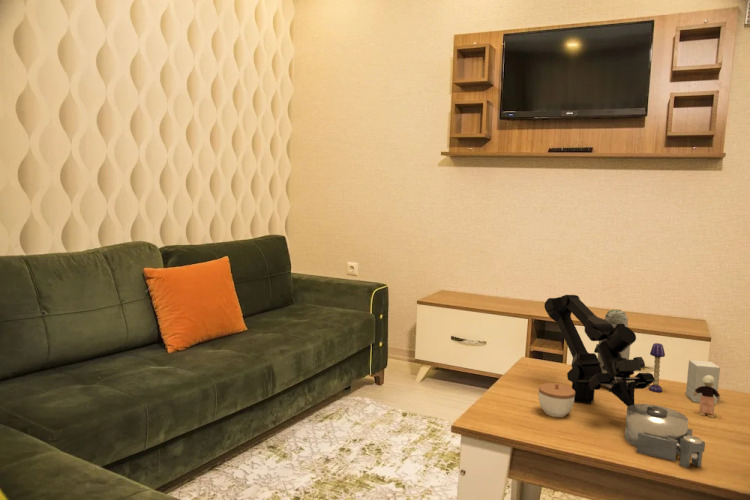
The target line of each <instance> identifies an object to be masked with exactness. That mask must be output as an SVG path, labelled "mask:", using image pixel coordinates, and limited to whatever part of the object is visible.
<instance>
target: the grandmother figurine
mask: <svg viewBox="0 0 750 500" xmlns="http://www.w3.org/2000/svg"><path fill="white" fill-rule="evenodd" d="M702 382H703V383H704V384H705V386H701V387H698V388H697V389H695V391H694V393H693V396H696V395H697V394H698V393H702V395H701V399H700V403H699V412H698V415H700V416H704V417H706V416H707V417H709V418H715V417H716V416H717V415H716V414H715V404H714V397H713V394H714V395H715V396H716V397H717V402H718V403H721V402H722V401H723V400H722V399H721V398H722V397H721V394H720V393H719V391H718V392H717V390H716V389H714V388H712V387H711V386H713V384H714V377H713V376H710V375H707V376H705V377H704V378H703V379H702Z"/></svg>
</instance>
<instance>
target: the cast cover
mask: <svg viewBox="0 0 750 500" xmlns="http://www.w3.org/2000/svg"><path fill="white" fill-rule="evenodd" d="M688 426H689V419H688V417H687V416H686V415H684V413H681V412H679V411H677V410H675V409H673V408H669V407H666V406H663V405H657V404H656V405H655V404H648V403H636V404H634V405H630V406H626V418H625V429H624V439H625V441H626V442H627V443H628V444H630V445H631V446H633V447H635V448H637V441H638V433H644V434H648V435H652V436H657V437H661V438H666V439H670V440H677V441H679V443H680V438H684V436H686V435H687V429H689V428H688ZM680 454H681V451H679V450H677V449H676V456H677V455H680Z"/></svg>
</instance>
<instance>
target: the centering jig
mask: <svg viewBox="0 0 750 500" xmlns="http://www.w3.org/2000/svg"><path fill="white" fill-rule="evenodd" d="M705 445H706V442H705V441H703V440H702V439H701V438H699V437H698V436H694V435H693V429H692V428H688V429H687V435H686V436H684V438H680V448H681V454H679V455H680V457H679V466H681V467H683V468H685V469H690V465H691V464H692V465H693V466H695V467H696V468H700V467H702V461H703V460H702V459H703V452H705ZM676 449H677V441H674V440H670V439H666V438H661V437H657V436H652V435H648V434H644V433H638V441H637V447H636V453H639V454H641V455H646V456H650V457H655V458H657V459H658V458H660V459H663V460H667V461H672V462H676V457H677V455H676ZM694 452H695V453H697V454H698V458H697V459H696V460H694V459H693V458H691V457H690V453H694ZM690 463H691V464H690Z"/></svg>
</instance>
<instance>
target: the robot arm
mask: <svg viewBox="0 0 750 500" xmlns="http://www.w3.org/2000/svg"><path fill="white" fill-rule="evenodd" d="M544 310H545V311H546V313H547V315H548V317H549V318H550V319H552V320H553V321H554V322H556V323H557V325H558V328H559V330H560V332H561V335H562V337H563V339H564V340H565V343H566V345H567V347H568V350H569V352H570V354H571V357H572V361H571V368H570V370H568V372H567V373H566V375H567V380H568V381H570V382H571V384H572V385H571V388H572V389H574V390H575V397H574V402H578V403H584V404H589V405H591V404H592V402H593V401H594V399H595V390H596V391H599V390H600V389H601V388H602V384H609V385H610V388H608V392H609V393H612V394H613V395H614V396H615V397H617V398H618V399H619V400H620V401H621V402H622V403H623V404H624V405H625V406H626V407H628V406H630V405H634V404H635V392H636V391H635V390H643V389H646V388H647V387H648V386H649V387H650V386H651V385H652V384H653V382H654V381H655V379H654V374H653V373H651V372H641V371H642V369H644V368H645V367H646V363H645V361H644V359H643V357H642V356H635V357H633V359H629V360H627V359H626V358H622V355H621V353H620V352H623V351H625V350H626V349H627V348H628V347H629V346H630V347H631V346H632V344H633V343H635V342H636V340H637V335H636V334H635V332H634V331H633V330H632V329H631V328H629V326H628V327H625V325H624V324H617V325H616V327H615V328H614V327H613V326H612V324H611V323H609V322H608V321H606V320H605V318H602V317H600V316H597V315H596V314H595V313H594V312H593V311H592V310H591V309H590V308H589V307H588V306H587V305H586V304H585V303H584V302H583V301H582V300H581V299H580V297H579V295H577V294H564V295H561V296H557V297H549V298H547V300H546V301H545V302H544ZM572 314H573V316H575V318H576V319H577V320H578V321H579V322H580V323H581V324H582V325H583V327H584V333H585V335H586V336H587V337H588V339H589V340H590V341H591V342H599V341H603V342H601V343H600V344H599V343H597V344H596V346H595V347H594V351H593V352H592V353H591V352H590V353H589V352H588V350H587V348H586V346H585V344H584V342H583V340H582V337H581V335H580V334H579V332H578V330H577V328H576V325H575V323H574V322H573V320H572V317H571V316H572ZM598 353H600V356H601V358H602V361H603V363H604V366H602V368H603V370H606V371H607V373H608V374H607V373H602V368H601V366H600V364H601V363H600V362H599V361H598V355H596V354H598ZM636 371H639V373H637V374H636V375H635V376H632V375H634V374H635V372H636Z"/></svg>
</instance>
